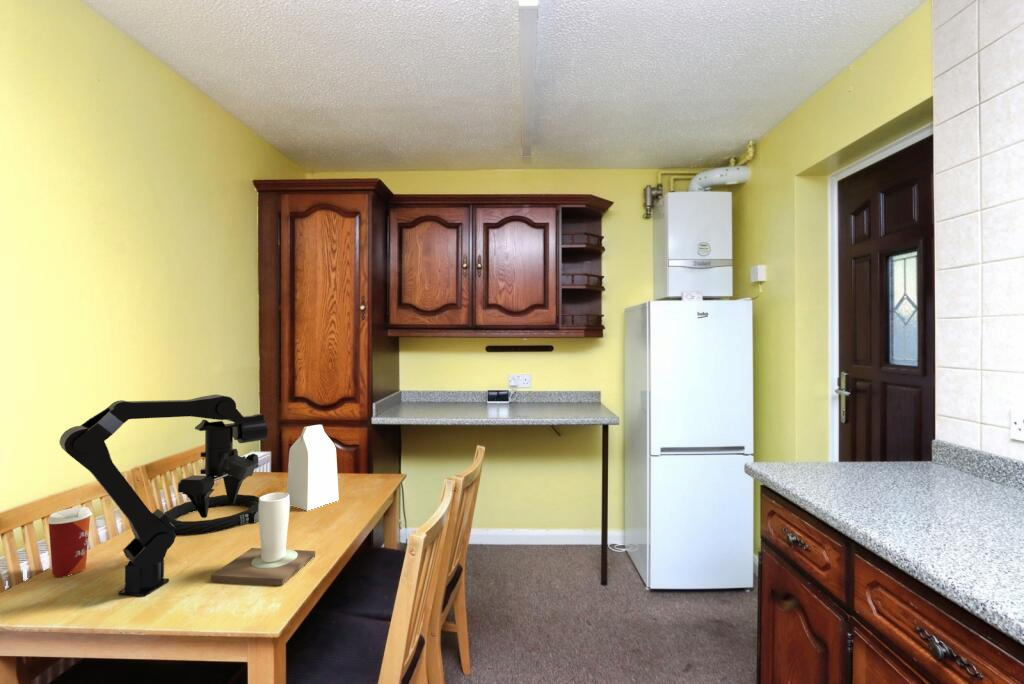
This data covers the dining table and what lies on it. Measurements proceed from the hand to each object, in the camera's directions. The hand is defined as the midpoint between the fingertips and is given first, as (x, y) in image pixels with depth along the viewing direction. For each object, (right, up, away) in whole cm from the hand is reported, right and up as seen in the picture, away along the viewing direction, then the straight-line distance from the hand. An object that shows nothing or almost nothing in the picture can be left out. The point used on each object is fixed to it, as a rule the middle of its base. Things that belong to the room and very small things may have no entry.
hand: (218, 510), depth 113 cm
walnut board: (+13, -13, -2) cm, 18 cm away
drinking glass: (+14, -12, -1) cm, 18 cm away
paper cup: (-33, -13, -4) cm, 35 cm away
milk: (+4, -14, +44) cm, 46 cm away
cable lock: (-19, -14, +30) cm, 38 cm away
